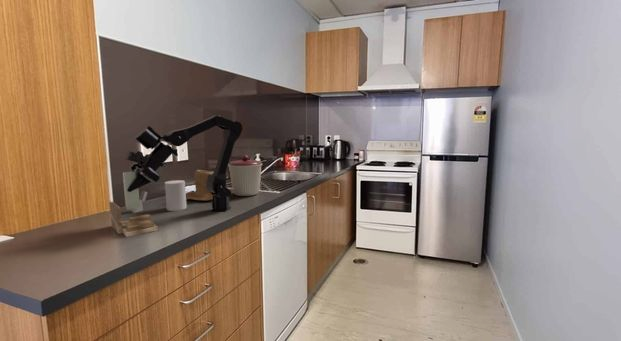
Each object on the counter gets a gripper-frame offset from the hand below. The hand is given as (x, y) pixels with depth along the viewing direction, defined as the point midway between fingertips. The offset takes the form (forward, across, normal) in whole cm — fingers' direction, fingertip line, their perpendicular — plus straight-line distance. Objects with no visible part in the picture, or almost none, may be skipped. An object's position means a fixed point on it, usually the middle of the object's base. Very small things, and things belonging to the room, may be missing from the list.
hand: (127, 190), depth 113 cm
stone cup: (-17, -25, +36) cm, 47 cm away
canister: (-33, -20, +52) cm, 65 cm away
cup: (-6, -16, +25) cm, 30 cm away
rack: (+9, +3, +10) cm, 14 cm away
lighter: (+3, -23, +16) cm, 29 cm away
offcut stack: (+8, +8, +10) cm, 15 cm away
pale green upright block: (+4, 0, +6) cm, 7 cm away
